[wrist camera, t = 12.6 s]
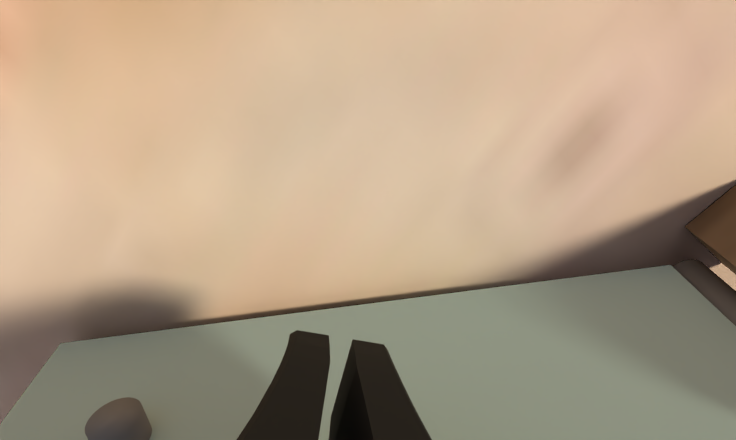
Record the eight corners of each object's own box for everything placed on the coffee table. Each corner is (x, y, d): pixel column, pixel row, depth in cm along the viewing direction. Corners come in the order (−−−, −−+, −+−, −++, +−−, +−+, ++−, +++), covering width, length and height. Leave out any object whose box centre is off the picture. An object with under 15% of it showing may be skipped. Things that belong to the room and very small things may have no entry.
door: (713, 238, 15) (986, 446, 8) (699, 307, 16) (933, 537, 9) (51, 324, 15) (-158, 580, 9) (82, 385, 16) (-85, 653, 10)
